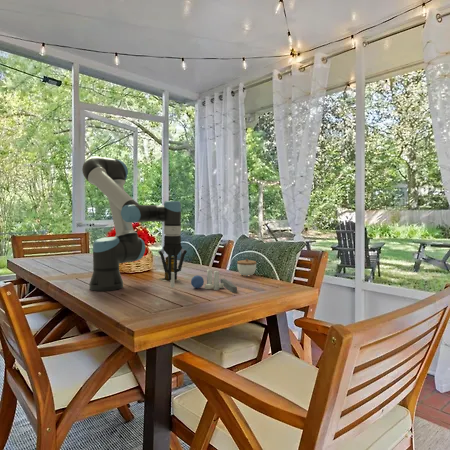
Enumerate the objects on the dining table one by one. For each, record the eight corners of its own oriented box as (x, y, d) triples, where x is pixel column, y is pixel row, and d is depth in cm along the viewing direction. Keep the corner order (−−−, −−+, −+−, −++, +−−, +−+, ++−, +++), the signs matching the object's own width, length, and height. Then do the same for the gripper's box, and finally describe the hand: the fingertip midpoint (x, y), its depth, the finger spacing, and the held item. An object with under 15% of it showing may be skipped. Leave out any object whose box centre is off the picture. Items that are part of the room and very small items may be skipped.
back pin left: (207, 288, 177) (207, 270, 176) (206, 287, 179) (206, 269, 179) (212, 288, 177) (212, 270, 177) (211, 287, 180) (211, 269, 179)
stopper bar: (232, 292, 168) (232, 287, 168) (220, 283, 187) (220, 278, 187) (236, 292, 169) (236, 287, 169) (224, 283, 188) (224, 278, 188)
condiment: (179, 280, 196) (179, 257, 196) (164, 281, 192) (164, 258, 191) (173, 277, 203) (173, 255, 202) (158, 279, 198) (158, 256, 197)
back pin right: (214, 290, 172) (214, 272, 172) (213, 289, 175) (213, 271, 174) (219, 290, 173) (219, 271, 173) (218, 289, 175) (218, 271, 175)
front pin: (206, 284, 174) (223, 283, 176) (204, 283, 176) (222, 282, 179) (206, 289, 174) (223, 288, 176) (204, 288, 176) (222, 287, 179)
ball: (206, 286, 174) (194, 284, 172) (200, 290, 179) (188, 289, 176) (205, 274, 177) (194, 272, 175) (200, 279, 182) (189, 277, 179)
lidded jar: (240, 277, 205) (240, 260, 204) (234, 273, 215) (234, 257, 215) (258, 276, 208) (259, 259, 207) (252, 273, 218) (252, 257, 217)
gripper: (158, 236, 164) (158, 289, 165) (188, 235, 168) (188, 287, 169) (157, 234, 171) (157, 285, 172) (185, 234, 175) (185, 284, 176)
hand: (172, 286), depth 171 cm, fingers closed
